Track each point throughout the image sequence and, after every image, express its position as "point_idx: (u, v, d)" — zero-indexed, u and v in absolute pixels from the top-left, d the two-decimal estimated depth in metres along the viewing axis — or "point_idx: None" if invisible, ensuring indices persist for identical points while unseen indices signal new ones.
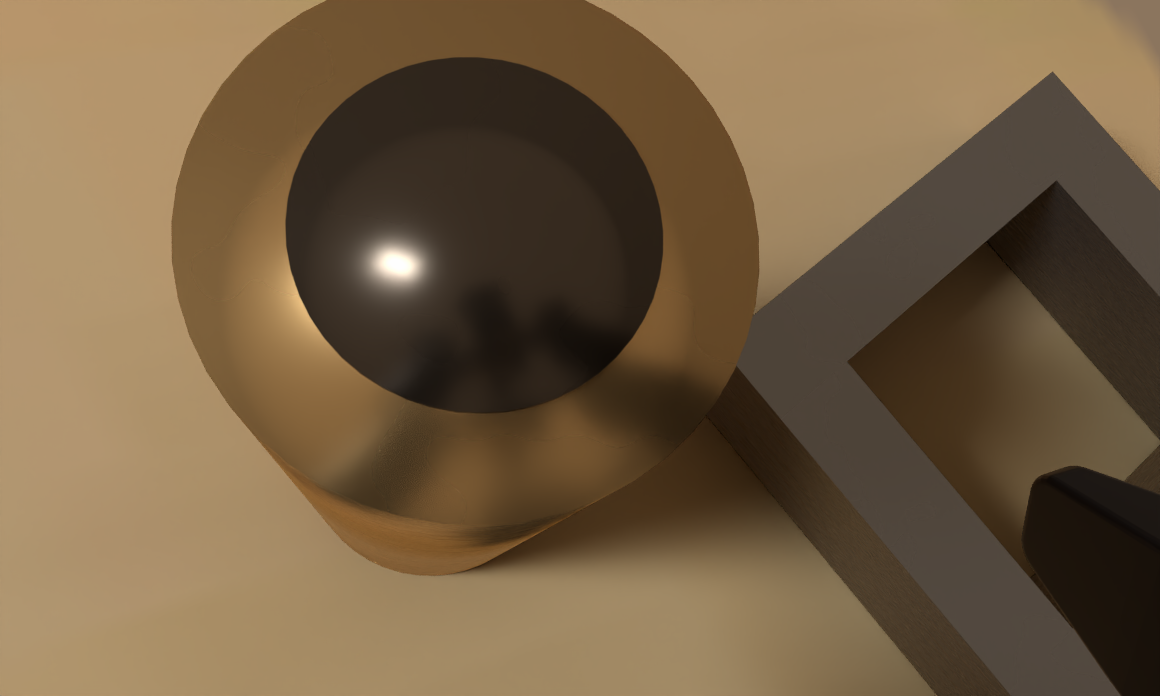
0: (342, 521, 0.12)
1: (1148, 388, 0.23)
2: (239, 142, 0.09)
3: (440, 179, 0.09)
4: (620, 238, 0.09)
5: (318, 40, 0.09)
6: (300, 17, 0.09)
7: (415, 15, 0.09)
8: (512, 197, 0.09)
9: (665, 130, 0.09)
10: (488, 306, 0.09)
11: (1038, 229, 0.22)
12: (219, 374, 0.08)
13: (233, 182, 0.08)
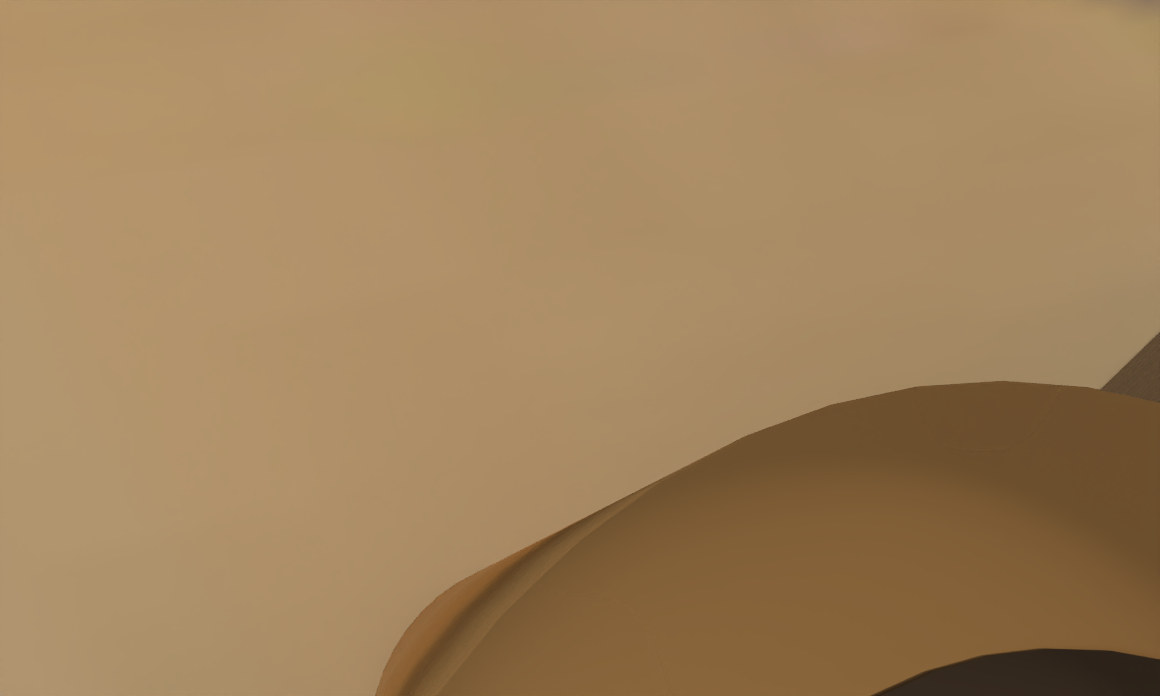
0: None
1: None
2: None
3: None
4: None
5: (628, 626, 0.03)
6: (573, 543, 0.03)
7: (870, 523, 0.03)
8: None
9: None
10: None
11: None
12: None
13: None
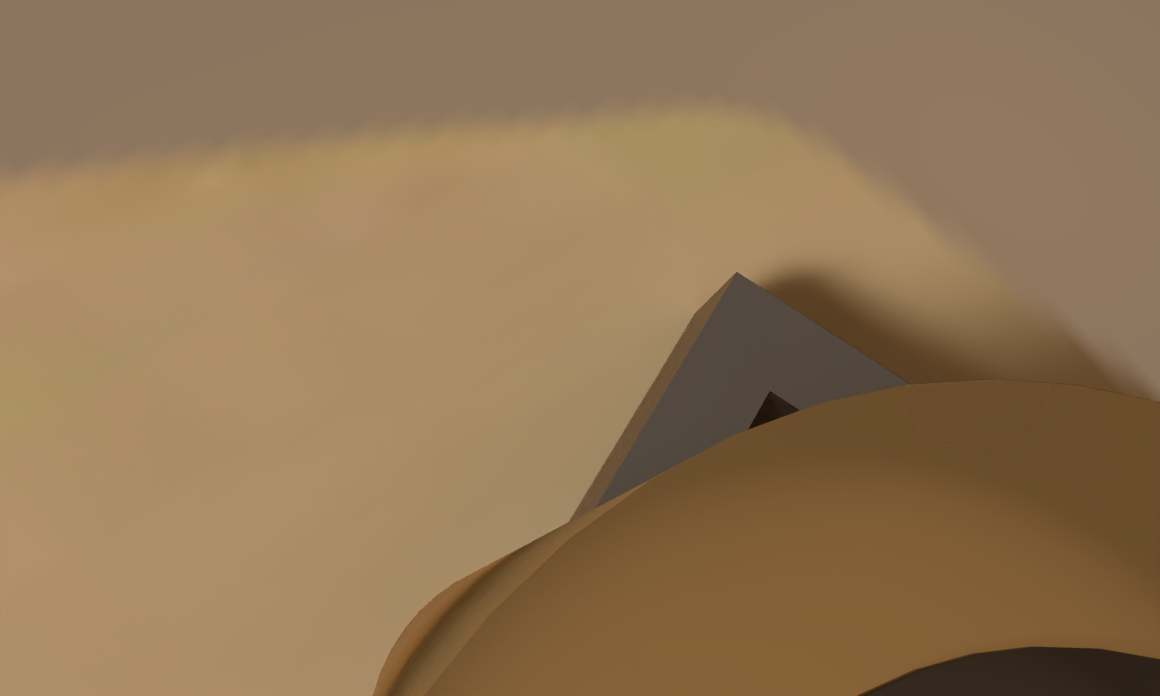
0: None
1: None
2: None
3: None
4: None
5: (616, 624, 0.03)
6: (561, 543, 0.03)
7: (861, 520, 0.03)
8: None
9: None
10: None
11: None
12: None
13: None
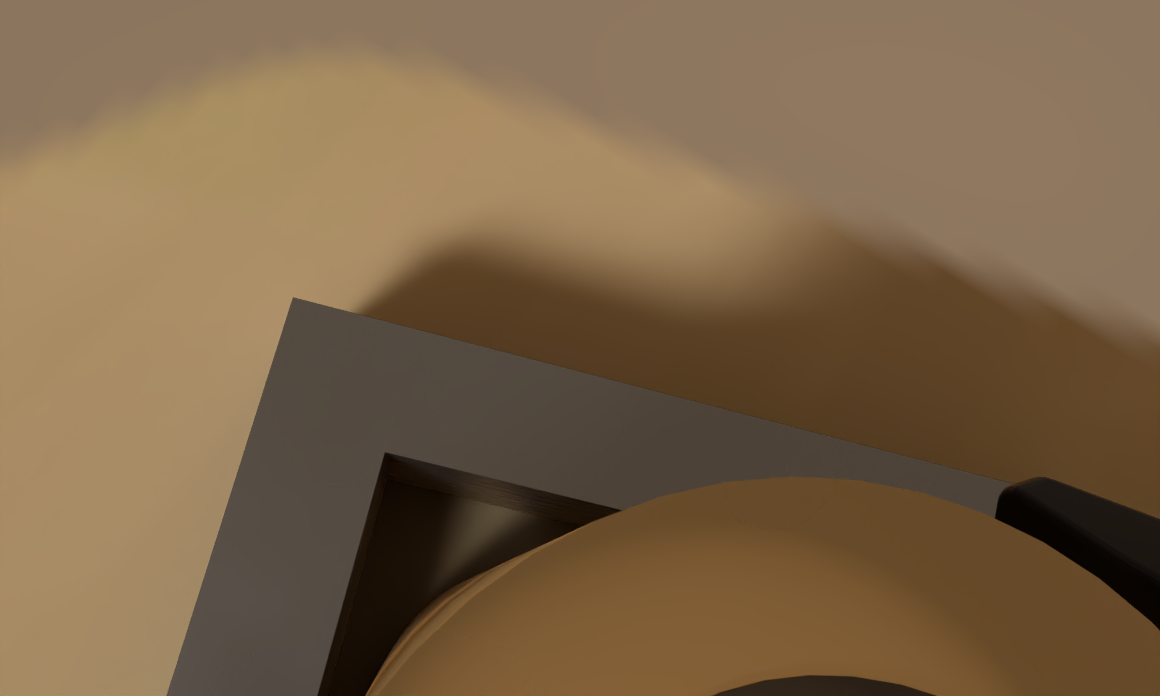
0: None
1: None
2: None
3: None
4: None
5: (503, 660, 0.04)
6: (467, 600, 0.05)
7: (685, 583, 0.05)
8: None
9: None
10: None
11: (430, 476, 0.15)
12: None
13: None
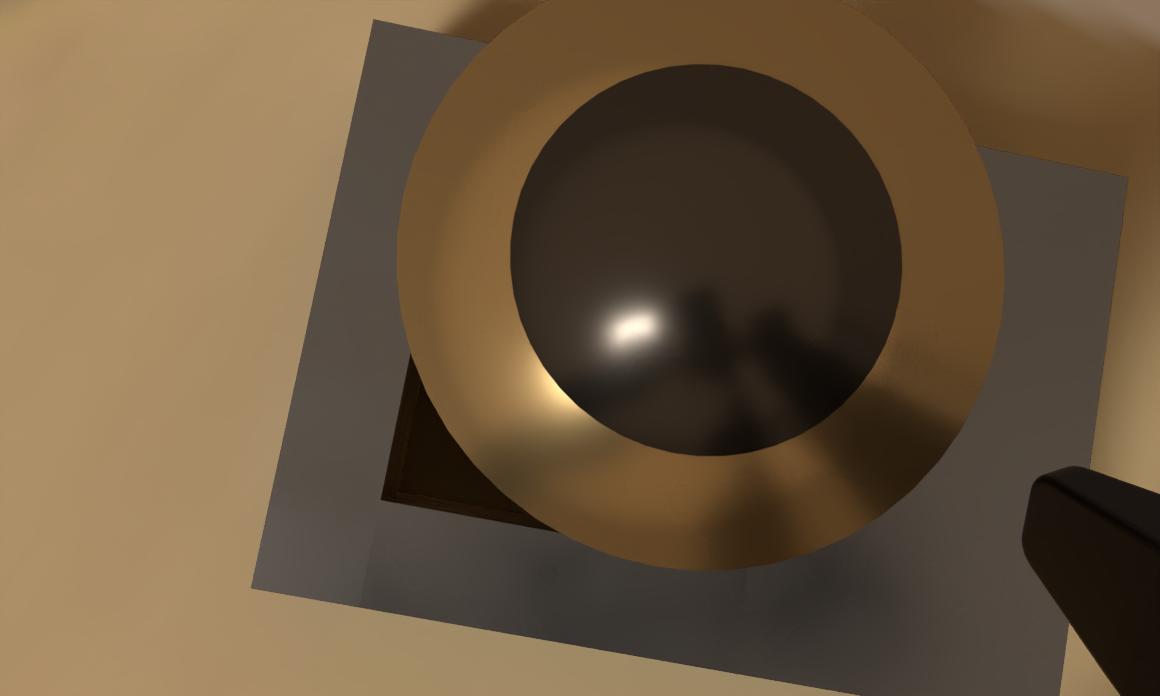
0: None
1: None
2: (455, 182, 0.08)
3: (662, 204, 0.08)
4: (855, 255, 0.08)
5: (524, 59, 0.08)
6: (502, 32, 0.08)
7: (623, 19, 0.08)
8: (740, 221, 0.08)
9: (898, 128, 0.08)
10: (721, 341, 0.08)
11: None
12: (460, 432, 0.08)
13: (453, 227, 0.08)
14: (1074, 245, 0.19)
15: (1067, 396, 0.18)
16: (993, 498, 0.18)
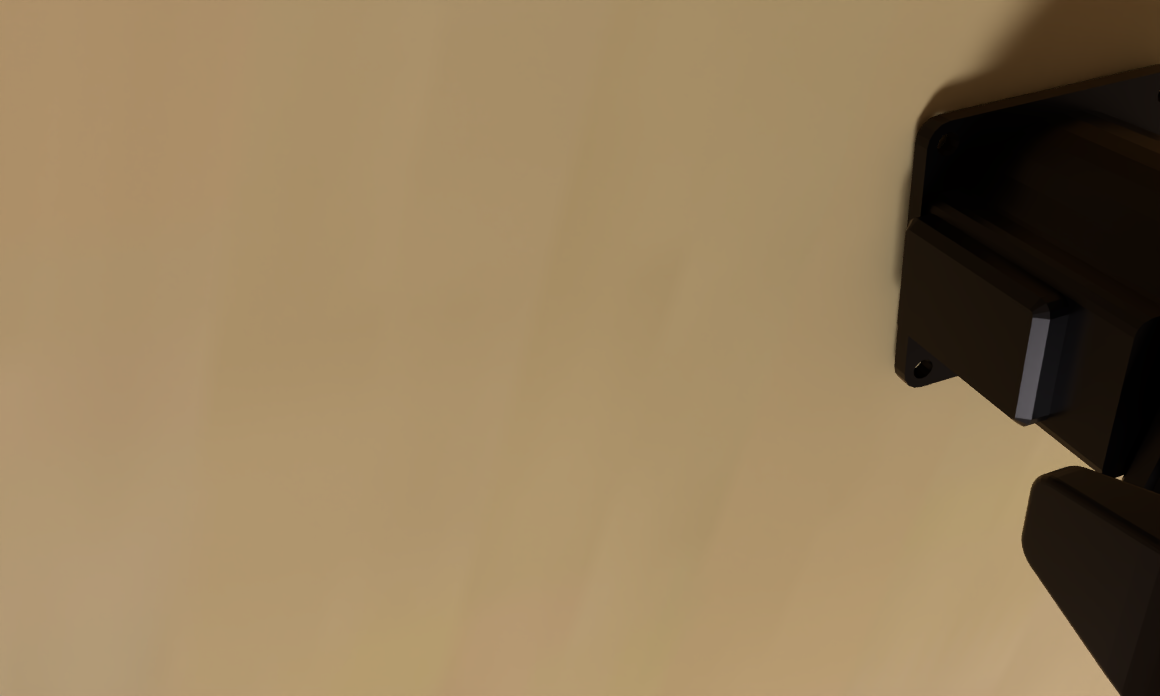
0: None
1: None
2: None
3: None
4: None
5: None
6: None
7: None
8: None
9: None
10: None
11: None
12: None
13: None
14: None
15: None
16: None
